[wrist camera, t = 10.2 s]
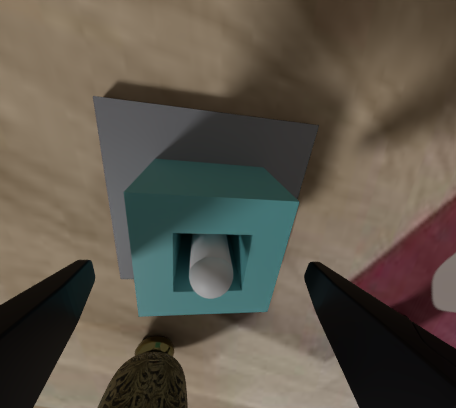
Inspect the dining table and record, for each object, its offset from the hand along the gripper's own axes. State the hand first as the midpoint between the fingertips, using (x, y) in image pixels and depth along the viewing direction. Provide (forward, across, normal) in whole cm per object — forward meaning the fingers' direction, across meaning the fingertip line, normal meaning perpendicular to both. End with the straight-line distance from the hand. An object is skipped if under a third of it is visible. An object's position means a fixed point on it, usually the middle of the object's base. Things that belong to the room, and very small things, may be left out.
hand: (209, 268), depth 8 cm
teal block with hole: (+5, 0, 0) cm, 5 cm away
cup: (+6, +4, +16) cm, 18 cm away
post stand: (+6, 0, 0) cm, 6 cm away
